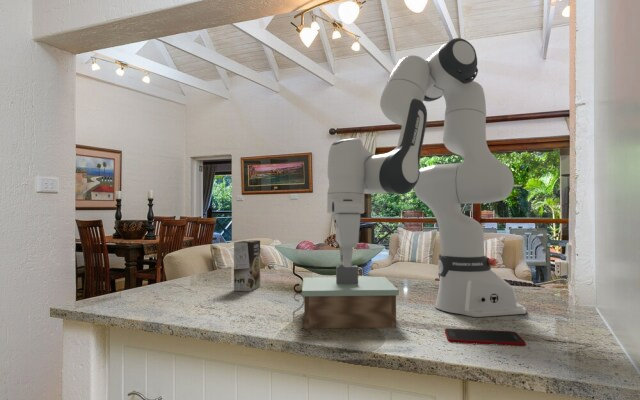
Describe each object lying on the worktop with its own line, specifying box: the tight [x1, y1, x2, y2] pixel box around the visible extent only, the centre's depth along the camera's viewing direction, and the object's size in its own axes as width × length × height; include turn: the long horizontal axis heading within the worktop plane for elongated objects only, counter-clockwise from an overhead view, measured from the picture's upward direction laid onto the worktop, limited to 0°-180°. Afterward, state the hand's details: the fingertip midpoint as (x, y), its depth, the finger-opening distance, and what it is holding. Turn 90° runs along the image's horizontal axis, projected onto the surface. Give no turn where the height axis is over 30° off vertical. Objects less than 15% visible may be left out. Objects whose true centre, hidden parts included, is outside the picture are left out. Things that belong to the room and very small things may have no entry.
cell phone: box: [444, 328, 526, 347], centre depth 85 cm, size 8×15×1 cm, turn 79°
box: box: [303, 295, 397, 329], centre depth 98 cm, size 20×16×8 cm
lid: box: [301, 264, 400, 297], centre depth 98 cm, size 21×17×6 cm
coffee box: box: [233, 239, 261, 292], centre depth 139 cm, size 9×6×16 cm
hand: (345, 264), depth 98 cm, fingers open, 8 cm apart
